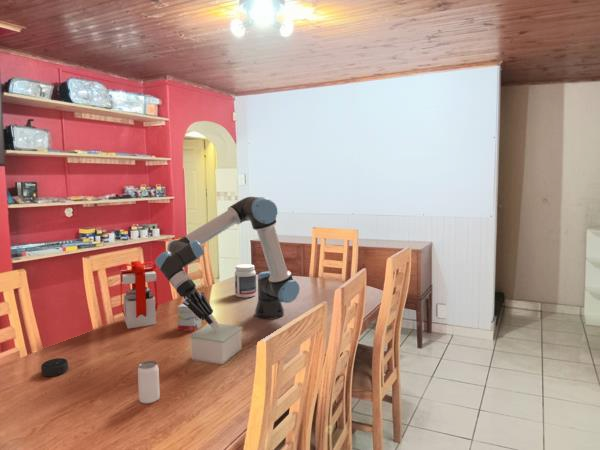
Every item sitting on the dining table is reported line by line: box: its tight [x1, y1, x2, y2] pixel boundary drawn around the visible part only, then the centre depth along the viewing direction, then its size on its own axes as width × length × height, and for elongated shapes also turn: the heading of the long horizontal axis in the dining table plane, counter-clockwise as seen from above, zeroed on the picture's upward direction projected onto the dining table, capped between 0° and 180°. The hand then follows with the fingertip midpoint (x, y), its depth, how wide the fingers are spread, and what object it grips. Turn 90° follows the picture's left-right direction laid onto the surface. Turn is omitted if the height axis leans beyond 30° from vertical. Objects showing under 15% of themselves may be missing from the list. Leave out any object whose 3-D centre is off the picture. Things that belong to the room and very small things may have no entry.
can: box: [137, 360, 161, 405], centre depth 147 cm, size 6×6×12 cm
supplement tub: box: [234, 263, 257, 299], centre depth 272 cm, size 13×13×18 cm
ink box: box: [177, 303, 202, 332], centre depth 215 cm, size 9×9×12 cm
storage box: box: [190, 330, 242, 365], centre depth 183 cm, size 14×16×9 cm
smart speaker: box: [40, 357, 69, 377], centre depth 168 cm, size 9×9×4 cm
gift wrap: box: [118, 260, 158, 329], centre depth 222 cm, size 17×17×30 cm
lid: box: [189, 323, 243, 343], centre depth 183 cm, size 15×17×1 cm
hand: (217, 328), depth 182 cm, fingers closed
